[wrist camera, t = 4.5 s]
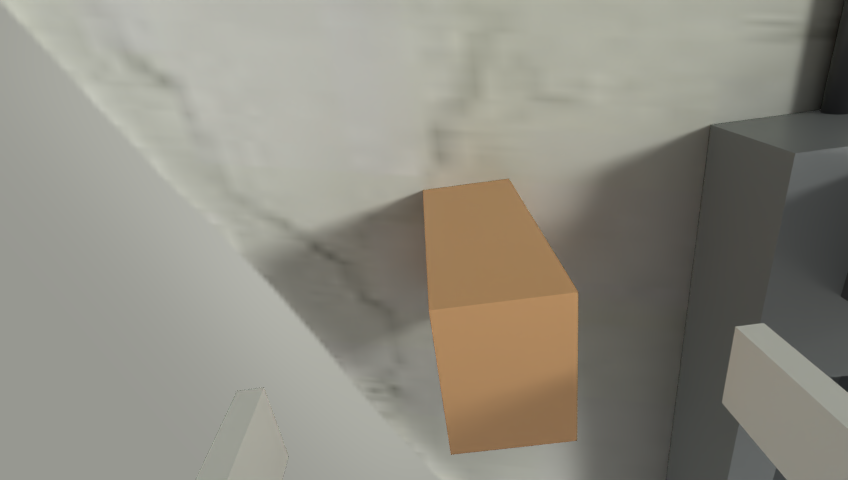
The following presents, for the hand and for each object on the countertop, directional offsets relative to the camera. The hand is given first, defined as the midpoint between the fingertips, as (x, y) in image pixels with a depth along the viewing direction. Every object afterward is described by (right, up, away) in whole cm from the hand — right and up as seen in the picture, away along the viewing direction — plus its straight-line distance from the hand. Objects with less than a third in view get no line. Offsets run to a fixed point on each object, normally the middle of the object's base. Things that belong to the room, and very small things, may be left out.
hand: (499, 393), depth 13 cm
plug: (0, +4, +9) cm, 10 cm away
